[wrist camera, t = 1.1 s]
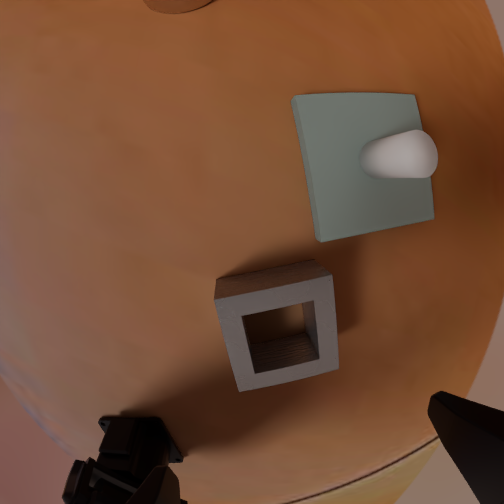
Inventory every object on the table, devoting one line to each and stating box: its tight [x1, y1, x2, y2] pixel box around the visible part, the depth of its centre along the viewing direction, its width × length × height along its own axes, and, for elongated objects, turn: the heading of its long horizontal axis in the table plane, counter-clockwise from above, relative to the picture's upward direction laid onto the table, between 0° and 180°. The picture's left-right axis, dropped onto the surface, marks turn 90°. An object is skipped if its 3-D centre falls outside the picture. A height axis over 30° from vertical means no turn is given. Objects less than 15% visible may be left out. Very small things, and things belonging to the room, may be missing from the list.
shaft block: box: [291, 93, 438, 242], centre depth 14 cm, size 9×9×6 cm
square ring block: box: [214, 259, 339, 392], centre depth 17 cm, size 6×6×4 cm
